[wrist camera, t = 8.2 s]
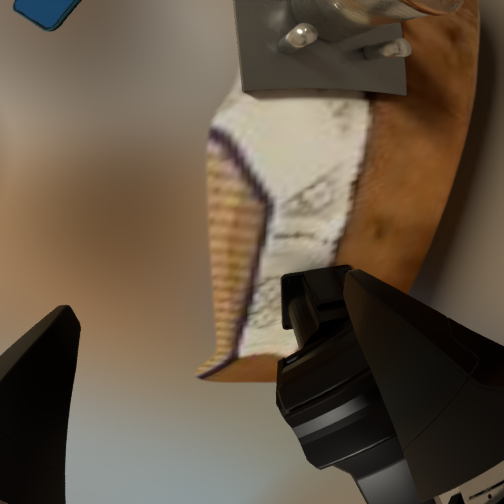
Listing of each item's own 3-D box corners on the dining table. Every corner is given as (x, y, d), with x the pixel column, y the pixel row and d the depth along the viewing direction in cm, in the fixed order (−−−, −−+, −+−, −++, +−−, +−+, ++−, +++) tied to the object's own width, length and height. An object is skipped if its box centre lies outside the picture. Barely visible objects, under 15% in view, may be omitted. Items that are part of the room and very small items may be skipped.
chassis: (397, 94, 17) (441, 100, 13) (242, 91, 16) (251, 88, 12) (381, -32, 11) (417, -50, 6) (227, -50, 10) (232, -85, 6)
